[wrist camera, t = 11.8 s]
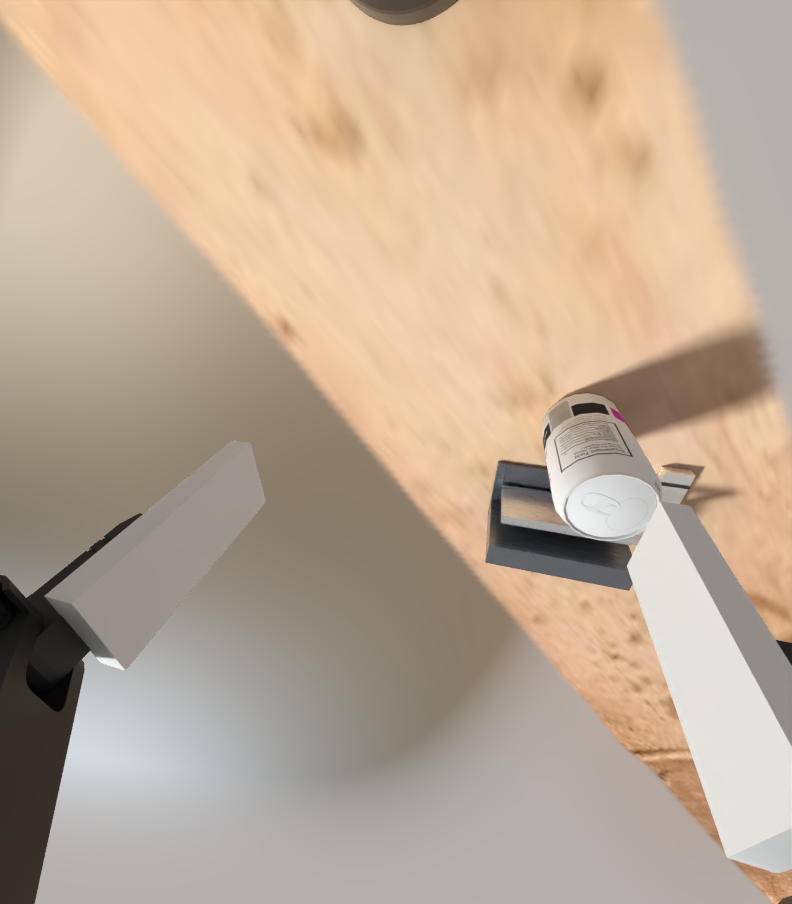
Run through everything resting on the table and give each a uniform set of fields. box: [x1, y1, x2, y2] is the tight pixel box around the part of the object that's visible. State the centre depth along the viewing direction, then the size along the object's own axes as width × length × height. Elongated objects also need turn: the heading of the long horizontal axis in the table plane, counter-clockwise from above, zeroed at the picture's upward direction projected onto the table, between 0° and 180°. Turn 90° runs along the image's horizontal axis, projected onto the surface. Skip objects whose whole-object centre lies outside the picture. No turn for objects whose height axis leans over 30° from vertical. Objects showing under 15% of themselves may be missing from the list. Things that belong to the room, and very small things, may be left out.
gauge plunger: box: [501, 485, 642, 545], centre depth 44 cm, size 1×19×6 cm, turn 89°
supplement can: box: [541, 393, 663, 541], centre depth 36 cm, size 8×8×15 cm
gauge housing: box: [485, 462, 695, 591], centre depth 43 cm, size 12×21×9 cm, turn 89°
